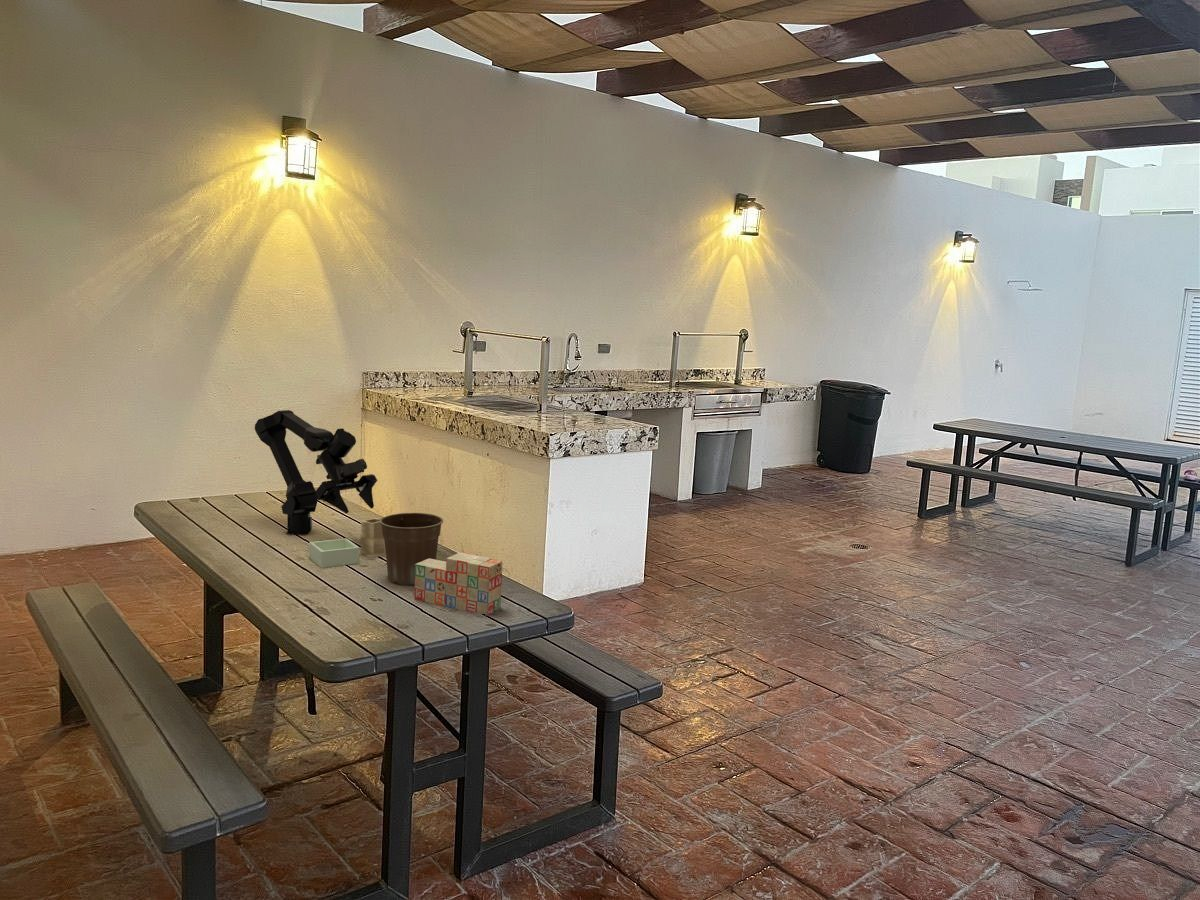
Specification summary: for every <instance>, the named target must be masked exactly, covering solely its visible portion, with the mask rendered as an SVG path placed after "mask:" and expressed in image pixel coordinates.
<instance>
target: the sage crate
mask: <svg viewBox="0 0 1200 900" xmlns="http://www.w3.org/2000/svg"><path fill="white" fill-rule="evenodd" d="M308 546H309V547H308V558H309V559H310V560H311V561H312V562H313V563H314V564H316V565H317V566H318V567H320V568H321V569H323V568H331V567H338V566H347V565H348V566H349V565H355V564H360V547H359V546H358V545H357V544H355V543H354V542H352V541H351V540H349V539H348V538H338V539H327V540H326V539H325V540H319V541H309V542H308Z"/></svg>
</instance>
